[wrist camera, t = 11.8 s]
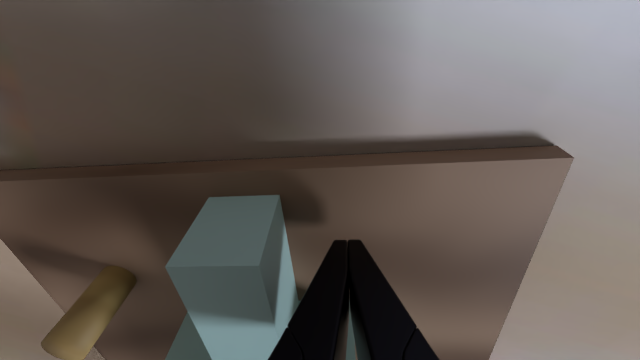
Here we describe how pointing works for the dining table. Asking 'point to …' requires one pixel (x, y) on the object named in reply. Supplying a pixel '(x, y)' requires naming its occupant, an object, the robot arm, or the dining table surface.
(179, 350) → the collar
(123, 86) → the dining table surface
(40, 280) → the board
